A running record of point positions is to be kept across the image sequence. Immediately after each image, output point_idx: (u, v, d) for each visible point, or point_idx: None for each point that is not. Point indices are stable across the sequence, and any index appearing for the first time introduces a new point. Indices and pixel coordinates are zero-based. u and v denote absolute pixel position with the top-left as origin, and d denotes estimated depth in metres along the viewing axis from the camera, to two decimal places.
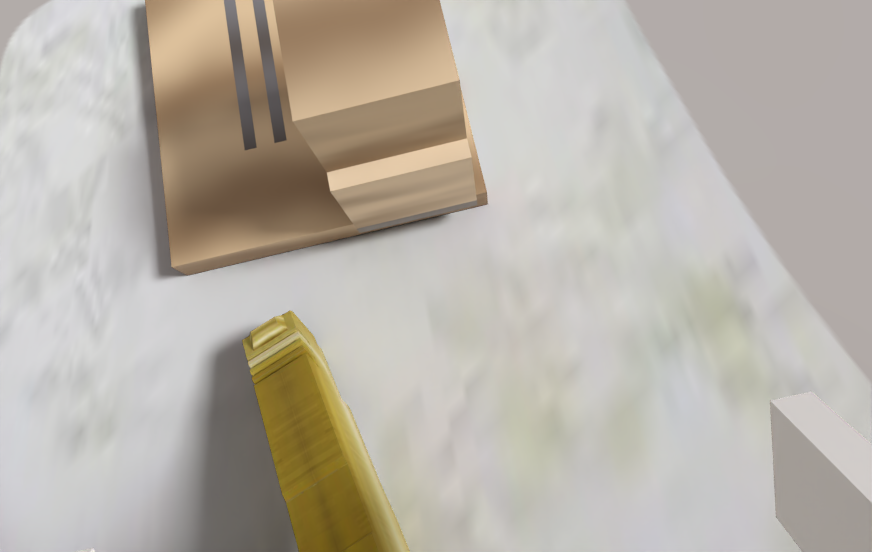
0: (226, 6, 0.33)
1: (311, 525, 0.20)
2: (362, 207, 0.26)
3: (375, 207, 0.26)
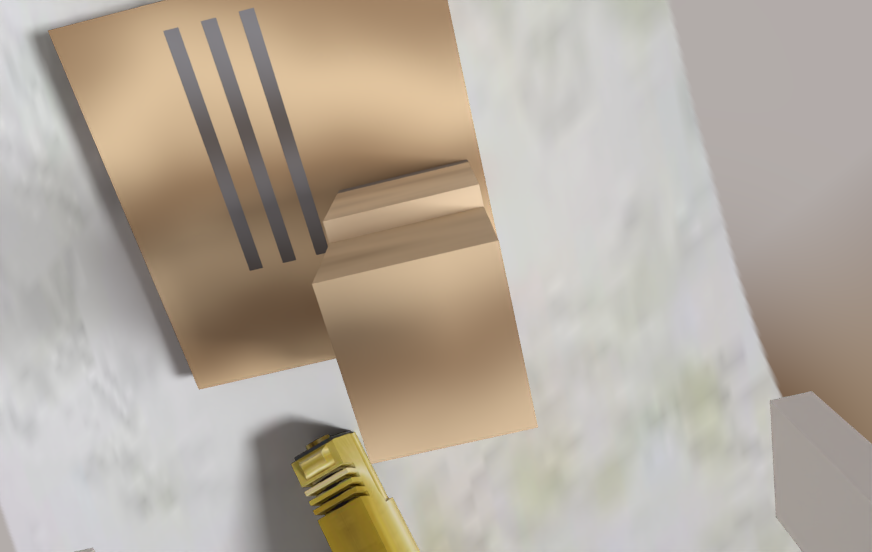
0: (181, 73, 0.24)
1: None
2: None
3: None
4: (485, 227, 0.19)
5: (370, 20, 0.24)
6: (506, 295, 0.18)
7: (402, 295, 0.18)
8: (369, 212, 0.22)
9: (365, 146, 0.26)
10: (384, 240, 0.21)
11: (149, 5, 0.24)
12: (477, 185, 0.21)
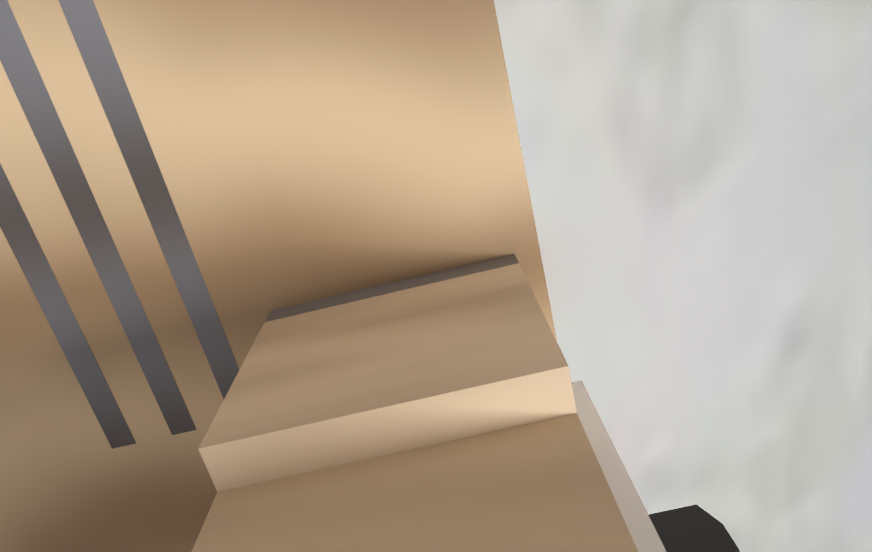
0: None
1: None
2: None
3: None
4: (612, 543, 0.07)
5: None
6: None
7: None
8: (307, 427, 0.09)
9: (318, 230, 0.13)
10: (337, 527, 0.08)
11: None
12: (564, 369, 0.09)
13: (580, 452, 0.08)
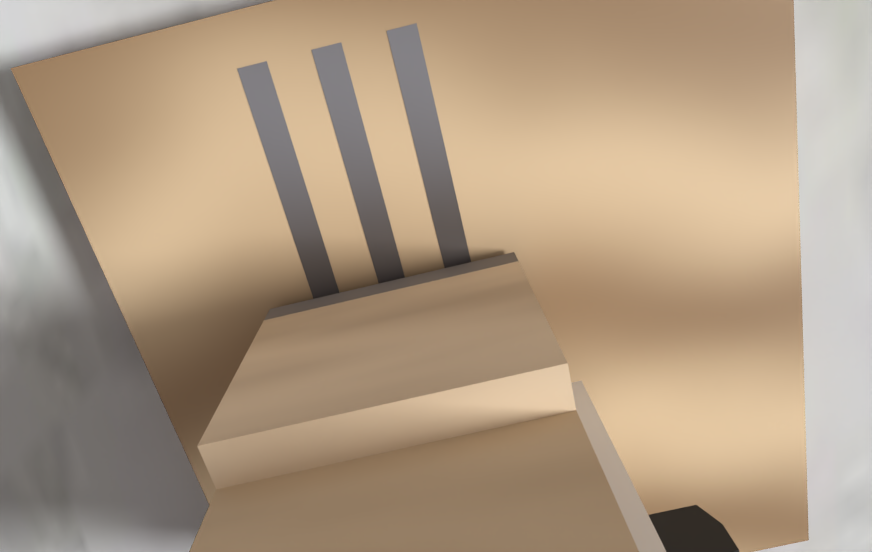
0: (268, 148, 0.13)
1: None
2: None
3: None
4: (611, 540, 0.07)
5: (639, 47, 0.12)
6: None
7: None
8: (307, 424, 0.09)
9: (598, 275, 0.14)
10: (336, 524, 0.08)
11: (211, 18, 0.12)
12: (563, 366, 0.09)
13: (579, 449, 0.08)
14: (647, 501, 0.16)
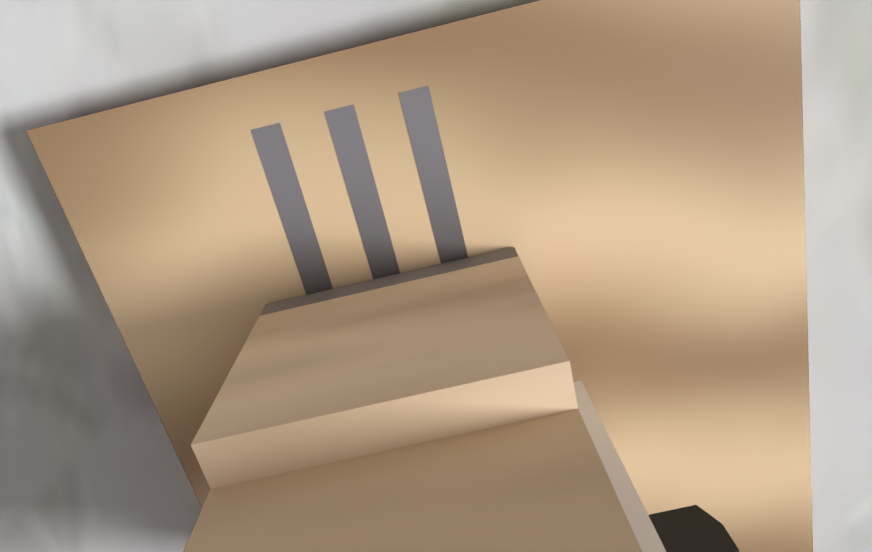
0: (281, 206, 0.13)
1: None
2: None
3: None
4: (616, 543, 0.07)
5: (648, 107, 0.13)
6: None
7: None
8: (302, 423, 0.09)
9: (607, 326, 0.14)
10: (333, 525, 0.08)
11: (225, 82, 0.12)
12: (565, 363, 0.09)
13: (582, 449, 0.08)
14: None
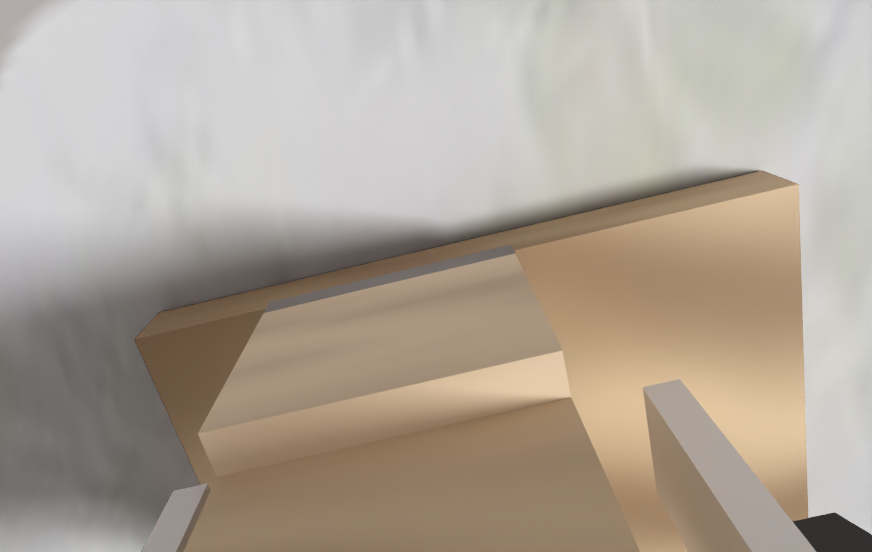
0: None
1: None
2: None
3: None
4: (604, 520, 0.07)
5: (669, 316, 0.14)
6: None
7: None
8: (306, 412, 0.09)
9: (631, 486, 0.16)
10: (335, 508, 0.08)
11: None
12: (558, 353, 0.09)
13: (574, 434, 0.09)
14: None
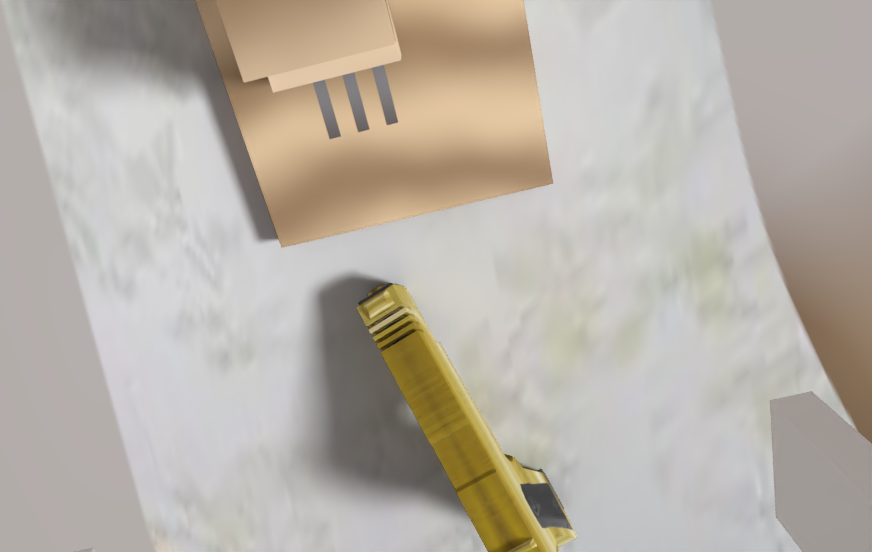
0: None
1: (453, 461, 0.33)
2: None
3: None
4: None
5: None
6: None
7: None
8: None
9: (432, 26, 0.30)
10: None
11: None
12: None
13: None
14: (467, 157, 0.33)
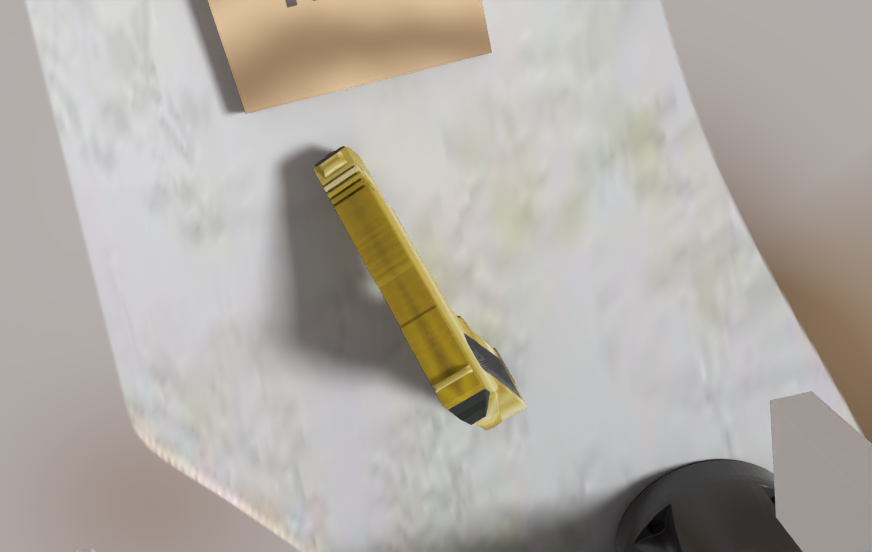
0: None
1: (398, 301, 0.36)
2: None
3: None
4: None
5: None
6: None
7: None
8: None
9: None
10: None
11: None
12: None
13: None
14: (412, 26, 0.36)
